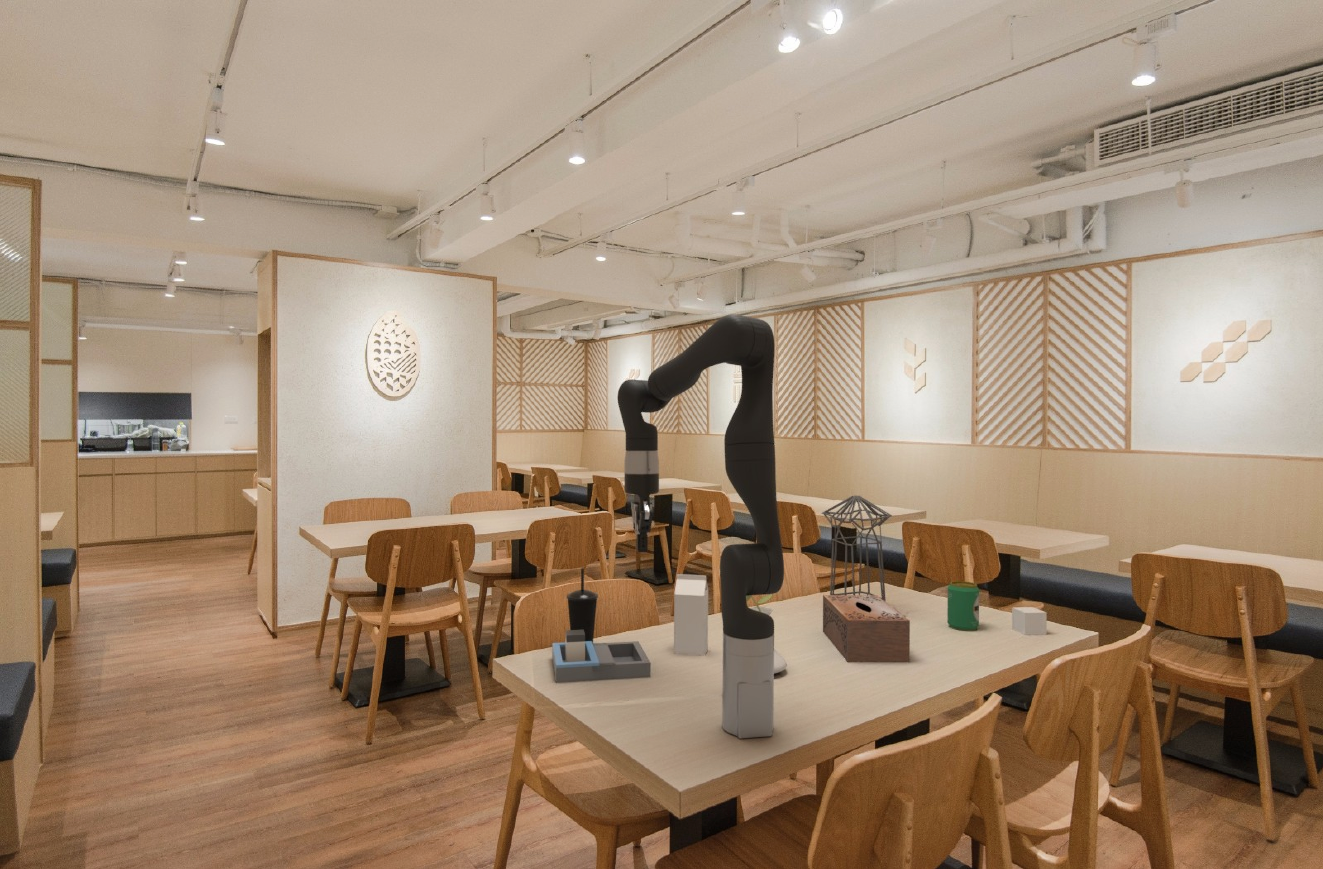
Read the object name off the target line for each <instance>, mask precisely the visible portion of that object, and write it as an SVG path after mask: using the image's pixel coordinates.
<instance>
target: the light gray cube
mask: <svg viewBox="0 0 1323 869" xmlns="http://www.w3.org/2000/svg"><path fill="white" fill-rule="evenodd" d="M1011 612H1012V613H1011V629H1012V630H1014V631H1015V632H1017V633H1020V634H1022V635H1023V636H1044V635H1045V636H1047V620H1048V619H1047V614H1048V613H1047V612H1046V611H1044V610H1041V609H1039V608H1037V607H1033V606H1027V607H1026V606H1023V607H1021V606H1020V607H1019V606H1018V607H1012V608H1011Z"/></svg>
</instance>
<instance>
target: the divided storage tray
mask: <svg viewBox="0 0 1323 869" xmlns="http://www.w3.org/2000/svg"><path fill="white" fill-rule="evenodd" d="M551 653H552V664H553V672H554V679H555V683H557V684H558V683H572V682H573V683H574V682H575V683H576V682H587V681H590V682H591V681H602V680H603V681H605V680H621V679H622V680H623V679H637V678H638V679H639V678H640V679H641V678H651V666H652V665H651V661H650V659H649V658H648V656H647V653H646V652H645V650H644V649H643V646H642V645H641V643H640V642H639V640H638V641H636V640H635V641H617V642H600V643H599V642H597V643H594V642H593V644H592V641H585V661H582V662H565V641H564V642H552V652H551Z"/></svg>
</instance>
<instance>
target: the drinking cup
mask: <svg viewBox="0 0 1323 869" xmlns="http://www.w3.org/2000/svg"><path fill="white" fill-rule="evenodd" d="M598 598H599V594H598V593H596V592H594V591H592V590H589V589H585V568H581V569H580V589H576V590H573V591H571V592H570V593H567V594H566V599H567V606H568V618H569V630H584V633H585V641H592V644H594V636H595V635H594V634H595V624H596V615H597V614H596V613H597V612H596V611H597V603H598Z"/></svg>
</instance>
